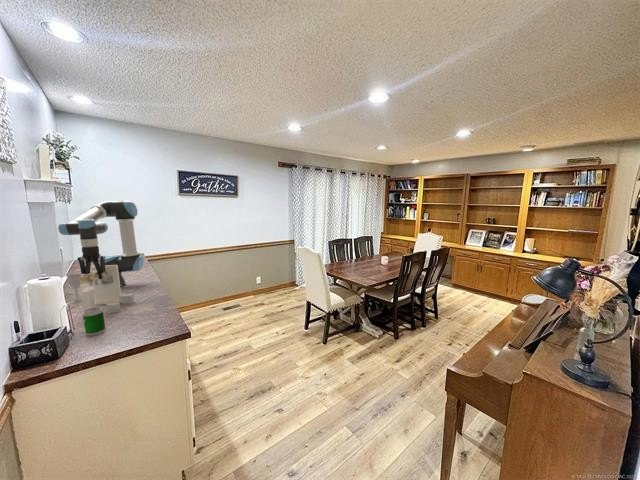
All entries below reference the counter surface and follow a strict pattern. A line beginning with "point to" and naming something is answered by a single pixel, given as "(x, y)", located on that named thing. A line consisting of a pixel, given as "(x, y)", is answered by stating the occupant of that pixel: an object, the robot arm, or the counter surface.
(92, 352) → the counter surface
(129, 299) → the stand
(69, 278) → the chalice
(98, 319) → the soda can
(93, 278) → the rail
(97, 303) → the white shelf
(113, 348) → the counter surface
